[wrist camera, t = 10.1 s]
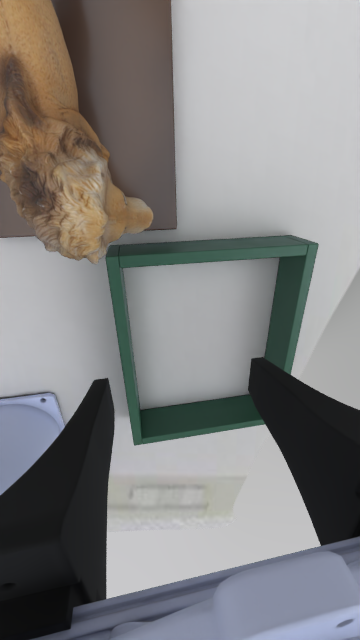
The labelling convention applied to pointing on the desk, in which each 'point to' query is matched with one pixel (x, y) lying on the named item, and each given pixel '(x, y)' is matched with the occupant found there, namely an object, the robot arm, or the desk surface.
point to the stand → (121, 99)
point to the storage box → (281, 336)
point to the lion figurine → (55, 142)
